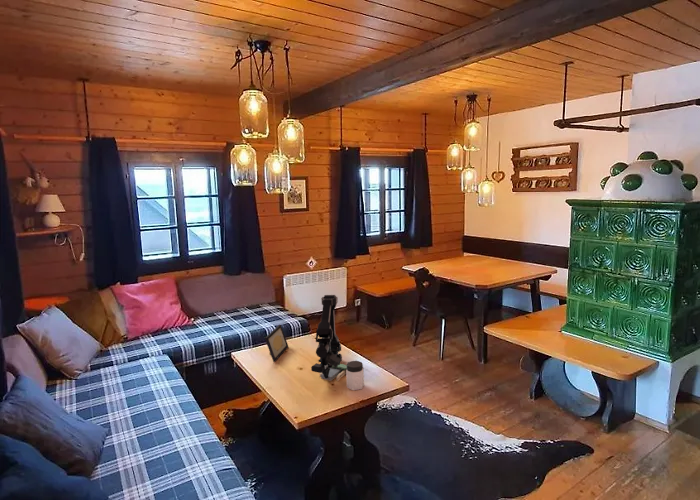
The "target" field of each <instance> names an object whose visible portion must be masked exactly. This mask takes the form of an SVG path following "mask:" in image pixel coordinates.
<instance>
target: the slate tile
mask: <svg viewBox="0 0 700 500" xmlns="http://www.w3.org/2000/svg"><path fill="white" fill-rule="evenodd" d="M342 371H343V369H342V368H337V367H331V368H330V371H329V375H328V378H327V379H326V378H325V377H324V375H323V374H322V375H321V377H320V378H321V379H322V380H325V381H330V382H332V381H333V380H334V379H335V378H336V377H337V376H338V374H340V373H341V372H342Z"/></svg>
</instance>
